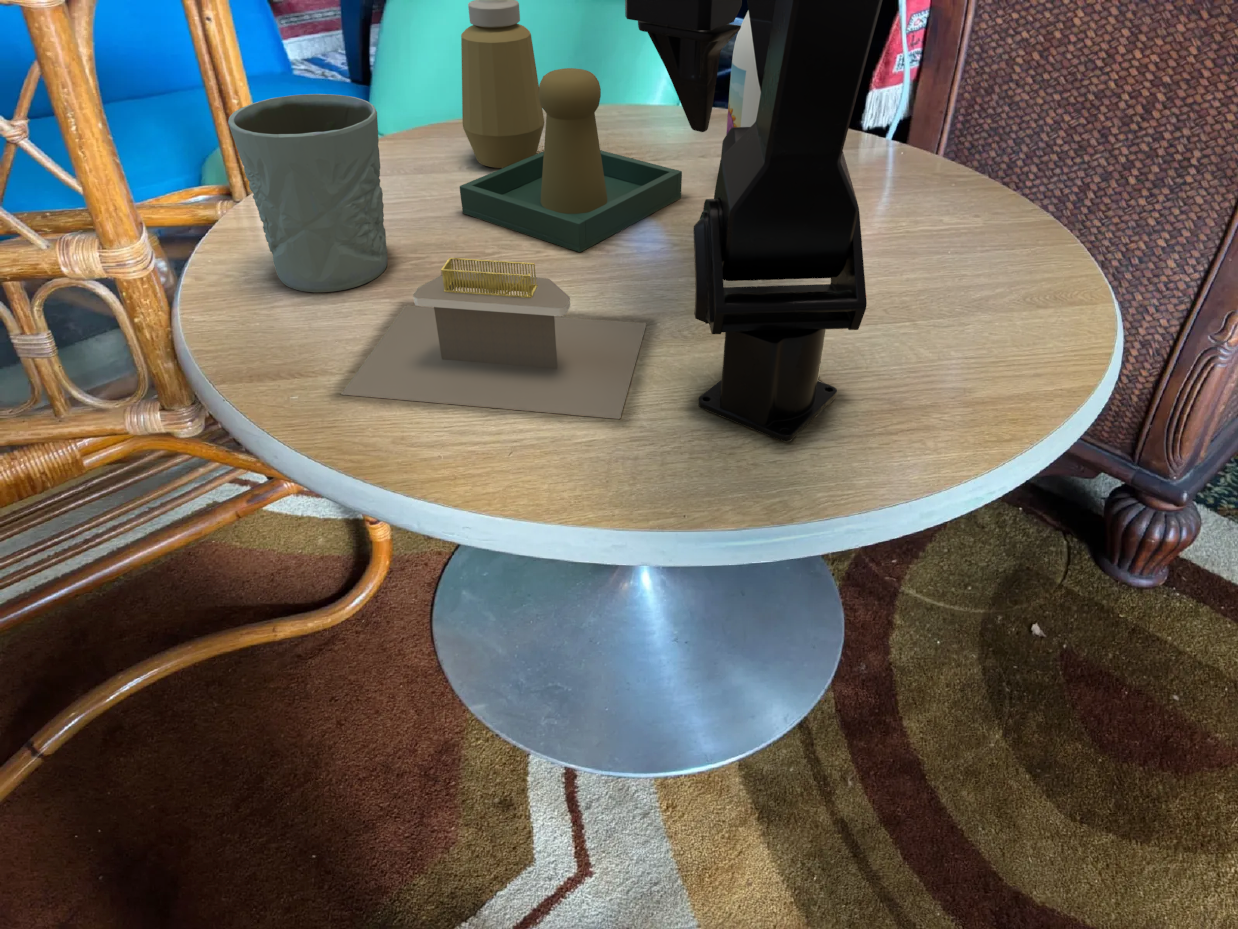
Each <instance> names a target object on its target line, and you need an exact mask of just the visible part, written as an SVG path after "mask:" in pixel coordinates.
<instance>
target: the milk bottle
mask: <svg viewBox="0 0 1238 929" xmlns="http://www.w3.org/2000/svg"><path fill="white" fill-rule="evenodd" d="M740 26H741V28H740V30H739V31H738V32H737V33H736V38H735V42H734V46H733V52H732V58H731V59H732V60H731V68H730V78H729V79H730V80H729V92H728V104H727V106H728V107H727V120H726V135H727V133H728V132H729V130H730V129H731V128H732V127H751V126H752V125H753V124H754V123H755V121H756V118H757V113H758V107H759V101H760V95H761V91H760V86H759V81H758V76H757V69H756V61H755V54H754V47H753V39H752V32H751V24H750V18H749V10H747V12H746V13H745V16H744V17H743V20H742V21H741V25H740ZM726 135H725V136H726Z"/></svg>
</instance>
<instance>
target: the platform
mask: <svg viewBox="0 0 1238 929" xmlns="http://www.w3.org/2000/svg"><path fill="white" fill-rule="evenodd" d="M440 272H441V275H439V276H437V277H434V278H433V279H432V280H430V281H427V282H425V283H424V284H422V285H420V286H418V288H417V289H415V291H414V293H413V295H412V297H413V302H414V305H408V304H406V305H404V307H403V308H402V309H401V311H400V312H399V313H398V315H397V316H396V317H395V319H394V320H393V322H391V324H390V326H389V327H388V329H387V330H386V331H385V333H384V334H383V335H382V337H380V339H379V341H378V342H377V343H376V345H375V347H373V349H372V351H371V352H370V353H369V354H368V356H367V357H366V359H365V360H364V361H363V362H362V364H361V365H360V367H359V368H358V370H357V371H356V372H355V374H354V375H353V377H352V378H351V380H350V381H349V382H348V383H347V385H346V386H345V387H344V388H343V390H342V392H341V393H340V395H343V396H355V397H367V398H377V399H378V398H379V399H389V400H390V399H391V400H400V401H411V402H421V403H432V404H433V403H435V404H437V403H438V404H445V405H446V404H447V405H457V406H468V407H469V406H470V407H480V408H489V409H490V408H491V409H502V410H515V411H523V412H524V411H526V412H537V413H547V414H557V415H558V414H559V415H570V416H583V417H593V418H602V419H603V418H604V419H605V418H606V419H617V420H621V416H622V413H623V410H624V406H625V404H626V400H627V395H628V392H629V388H630V384H631V381H632V377H633V374H634V370H635V365H636V362H637V359H638V357H639V352H640V349H641V346H642V345H641V344H642V341H643V338H644V334H645V331H646V327H647V322H636V321H624V320H612V319H611V320H609V319H598V318H597V319H596V318H584V317H571V316H566V315H567V314H568V312H569V310H570V308H571V297H570V296H569V295H568V294H567V293H566V292H565V291H564V290H563V289H562V288H560V286H558V285H557V284H556V283H555V282H554V281H553V280H552V279H550V278H547V277H538V276H537V275H536V274H537V273H536V264H535V262H523V261H521V262H520V261H507V260H491V259H477V258H463V257H462V258H461V257H449V258H448V259H447V260H446V262H445V263H444V265H443V266H442V268H441V269H440Z"/></svg>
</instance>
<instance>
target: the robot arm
mask: <svg viewBox="0 0 1238 929" xmlns="http://www.w3.org/2000/svg"><path fill="white" fill-rule="evenodd" d="M746 1H747V2H746V3H747V9H748V10H749V18H750V24H751V32H752V39H753V47H754V54H755V61H756V69H757V76H758V81H759V86H760V91H761V95H760V101H759V107H758V113H757V118H756V121H755V123H754V124H753V125H752V126H751V127H732V128H731V129H730V130H729V132H728V133H727V135H725V137H724V138H723V140H722V144H721V154H720V160H719V165H718V171H717V177H716V181H715V182H716V183H715V189H714V194H713V198H706V199H705V200H704V203H703V208H702V211H701V214H700V217H699V220H697V222H696V223H695V224H694V225H693V256H694V257H693V259H694V260H693V262H694V310H693V311H694V312H693V315H694V318H695V320H697V321H700V322H702V323H704V324H705V325H709V330H710V333H711V335H722V333H724V345H723V357H722V369H721V370H722V371H721V379H720V380H719V381H717V382H716V383H715V384H713V385H712V386H711V387H710V388H708V389H707V390H705V392H703V393H702V394H701V395H699V397H698V400H697V402H698V403H697V404H698V407H699V408H700V409H703V410H705V411H707V412H710V413H712V414H714V415H717V416H720V417H722V418H724V419H727V420H729V421H732V422H734V423H735V424H739V425H742V426H744V427H747V428H749V429H751V430H754V431H756V432H759V433H761V434H764V435H766V436H769V437H770V438H773V439H776V440H777V441H778V440H779V441H781V442H791V441H792V440H793V439H794V438H796V436H798V434H800V433H801V431H802V430H804V429H805V428H806V427H807V426H808V425H809V424H810V423H811V422H812V421H813V420H814V419H815V418H816V417H817V416H818V415H820V413H821V412H822V411H823V410H824V409H825V408H826V407H827V406H828V405H829V404H831V403H832V402H833V401H834V400H835V399H836V398H837V394H838V389H837V388H836V387H835V386H833V385H831V384H827V383H825V382H823V381H820V380H819V376H820V368H821V362H822V355H823V349H824V343H825V337H826V330H848V331H859V329H860V327H861V324H862V321H863V319H864V315H865V313H866V310H867V303H868V302H867V291H866V290H867V289H866V278H865V265H864V253H863V240H862V229H861V228H862V227H861V214H860V207H859V203H858V199H857V196H856V192H855V188H854V185H853V182H852V179H851V175H850V172H849V171H850V170H849V168H848V165H847V161H846V157H845V153H844V147H845V143H846V139H847V135H848V132H849V128H850V125H851V120H852V117H853V113H854V110H855V106H856V102H857V99H858V94H859V90H860V87H861V83H862V79H863V76H864V71H865V68H866V64H867V60H868V56H869V53H870V49H871V45H872V41H873V37H874V33H875V31H876V26H877V23H878V18H879V15H880V11H881V8H882V4H883V0H746ZM742 6H743V0H624V13H625V14H624V17H625V18H626V19H627V20H631V21H635V22H636V21H637V27H638V30H639V31H640V32H644V33H647V34H648V36H649V38H650V40H651V42H652V44H653V46H654V48H655V50H656V52H657V54H658V56H659V58H660V59H661V61H662V64H663V66H664V68H665V69H666V72H667V75H668V76H669V79H670V81H671V83H672V86H673V88H674V90H675V93H676V96H677V98H678V101H679V102H680V105H681V107H682V110H683V112H684V114H685V117H686V119H687V122H688V124H689V126H690V128H691V130H693V131H695V132H699V133H705V132H707V131H708V129H709V126H710V121H711V117H712V111H713V106H714V99H715V92H716V85H717V79H718V72H719V64H720V56H721V52H722V50H723V49H724V48H725V46H726V45H727V44H728V43H729V42H730V41H731V40H732V39H733V38H734V37H735V36H736V35H737V34H738V32H739V30H740V28H741V25H738V24H734V22H735V20H736V18H737V16H738V14H739V12H740V10H741V8H742ZM748 10H747V11H748ZM814 279H830V283H818V284H815V283H814V284H786V285H785V284H784V285H782V284H781V285H754V286H751V285H750V286H724V281H726V282H743V281H744V282H745V281H747V282H749V281H776V280H777V281H779V280H814Z"/></svg>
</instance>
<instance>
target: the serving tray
mask: <svg viewBox="0 0 1238 929" xmlns="http://www.w3.org/2000/svg"><path fill="white" fill-rule="evenodd" d="M600 152H601V159H602V166H603V172H604V179H605V186H606V192H607V203H606V204H605V205H603V206H601V207H599V208H597V209H595V210H593V211H591V212H587V213H578V214H565V213H559V212H555V211H552V210H549V209H546V208H545V207H543V206H542V204H541V202H540V201H541V187H542V172H543V158H544V150H542V151H540V152H537V154H536V155H533V156H531V157H529V158H526V159H524V160H521V161H519V162H517V163H514V164H512V165H509V166H507V167H504V168H499V169H498V170H495V171H492V172H490V173H487V174H486V175H483V176H479V177H478V178H476V179H473V180H471V181H469V182H466V183H463V184H461V185H459V193H460V203H461V212H462V214H464V215H466V216H470V217H473V218H476V219H479V220H482V221H485V222H488V223H490V224H494V225H496V226H499V227H503V228H506V229H509V230H511V231H515V232H517V233H521V234H524V235H526V236H529V237H533V238H536V239H539V240H542V241H545V242H548V243H550V244H553V245H557V246H559V247H562V248H565V249H568V250H572V251H574V252H577V253H582V252H584V251H585V250H587V249H589V248H592V247H593V246H595V245H597V244H599V243H601V242H603V241H604V240H607V238H609V237H611V236H613V235H616V234H617V233H619V232H621V231H622V230H624V229H626V228H629V227H630V226H632V225H633V224H636V223H637V222H639V221H641V220H643V219H645V218H647V217H648V216H650V215H652V214H654V213H656V212H658V211H659V210H661V209H663V208H665V207H667V206H668V205H670V204H673V203H674V202H676V201H678V200H680V199H681V198H682V184H683V182H682V181H683V171H682V170H679V169H675V168H671V167H666V166H663V165H659V164H656V163H653V162H648V161H644V160H640V159H636V158H632V157H628V156H625V155H620V154H617V153H613V152H611V151H610V152H608V151H605V150H601V149H600Z"/></svg>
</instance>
